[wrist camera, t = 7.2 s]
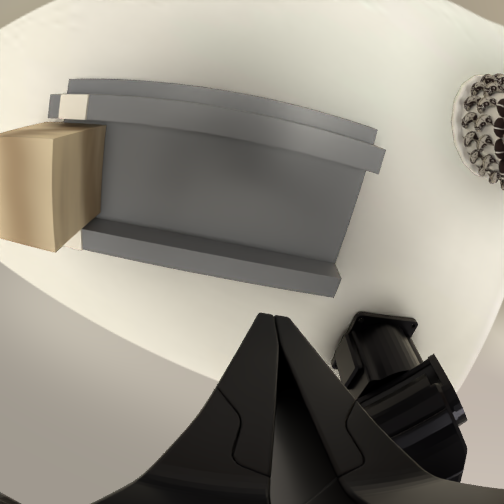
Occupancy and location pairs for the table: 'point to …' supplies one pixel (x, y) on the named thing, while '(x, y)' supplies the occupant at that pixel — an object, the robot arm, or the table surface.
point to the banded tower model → (481, 126)
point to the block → (50, 182)
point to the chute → (221, 181)
